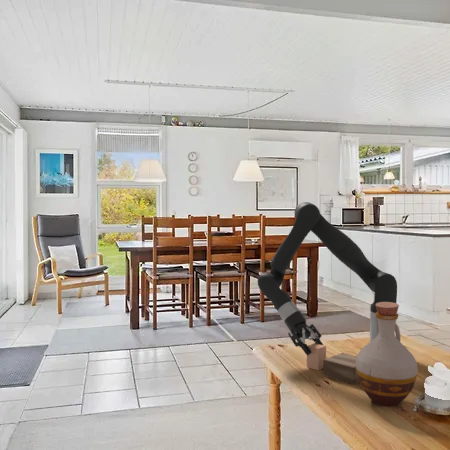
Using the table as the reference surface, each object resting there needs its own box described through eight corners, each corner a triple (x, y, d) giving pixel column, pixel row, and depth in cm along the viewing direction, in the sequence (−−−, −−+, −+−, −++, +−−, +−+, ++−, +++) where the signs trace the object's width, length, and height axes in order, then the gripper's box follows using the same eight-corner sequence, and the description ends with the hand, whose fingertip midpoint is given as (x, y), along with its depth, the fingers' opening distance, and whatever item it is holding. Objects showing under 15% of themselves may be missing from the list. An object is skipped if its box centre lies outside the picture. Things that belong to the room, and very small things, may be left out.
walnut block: (342, 368, 178) (342, 352, 177) (371, 377, 169) (371, 360, 169) (323, 376, 169) (323, 359, 169) (353, 385, 161) (353, 367, 160)
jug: (371, 385, 160) (372, 295, 159) (426, 398, 149) (428, 302, 148) (345, 403, 145) (346, 304, 144) (404, 419, 134) (406, 312, 133)
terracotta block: (314, 364, 182) (314, 343, 182) (325, 367, 178) (326, 346, 178) (306, 367, 178) (307, 345, 178) (318, 370, 175) (318, 348, 175)
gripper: (285, 312, 179) (311, 350, 171) (308, 307, 189) (333, 342, 181) (274, 324, 183) (298, 361, 175) (297, 318, 193) (321, 353, 185)
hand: (316, 351), depth 178 cm, fingers open, 8 cm apart
